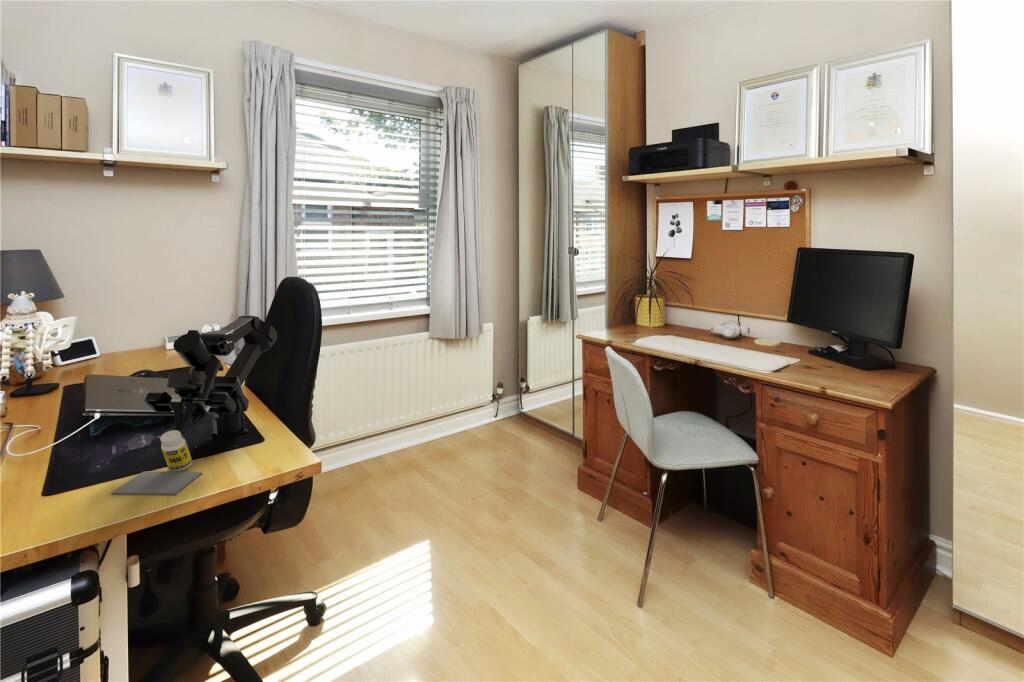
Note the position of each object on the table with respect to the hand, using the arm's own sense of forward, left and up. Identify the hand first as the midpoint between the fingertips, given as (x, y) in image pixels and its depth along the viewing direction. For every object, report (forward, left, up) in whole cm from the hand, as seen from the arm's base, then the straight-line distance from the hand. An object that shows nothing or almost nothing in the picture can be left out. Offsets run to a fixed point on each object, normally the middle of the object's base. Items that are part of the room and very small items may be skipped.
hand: (177, 435), depth 123 cm
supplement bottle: (0, 0, -7) cm, 7 cm away
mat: (+6, +5, -8) cm, 11 cm away
